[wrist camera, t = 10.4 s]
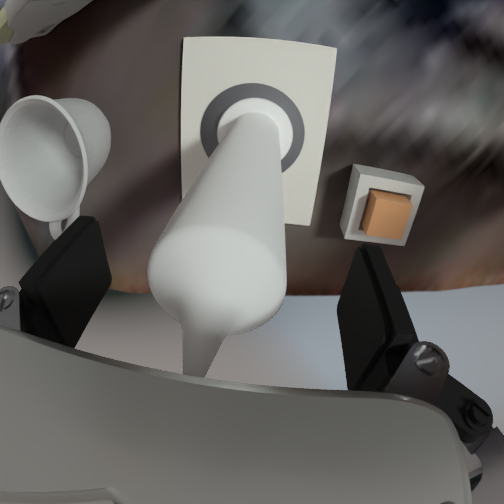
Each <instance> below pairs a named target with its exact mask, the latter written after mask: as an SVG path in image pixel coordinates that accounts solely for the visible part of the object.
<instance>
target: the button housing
mask: <svg viewBox="0 0 504 504" xmlns="http://www.w3.org/2000/svg"><path fill="white" fill-rule="evenodd" d="M424 187H425V186H424V185H422V184H421V183H420V182H419V181H418V180H417V179H416V178H415V177H414V176H412V175H408V174H403V173H399V172H394V171H389V170H384V169H379V168H374V167H369V166H363V165H357V164H353V167H352V172H351V177H350V181H349V186H348V190H347V195H346V199H345V203H344V208H343V212H342V216H341V220H340V224H339V225H340V227H341V230H342V233H343V236H344V239H350V240H358V241H366V242H375V243H383V244H391V245H399V246H405V243H406V241H407V238H408V235H409V232H410V230H411V227H412V224H413V221H414V218H415V215H416V212H417V209H418V206H419V203H420V200H421V197H422V194H423V191H424ZM371 190H375V191H381V192H386V193H392V194H397V195H402V196H406V197H407V198H408V199H409V201H410V202H411V203H412V204H413V206H412V210H411V213H410V216H409V219H408V222H407V224H406V227H405V230H404V233H403V236H402V238H401V240H399V239H392V238H384V237H376V236H368V235H366V234H365V232H364V229H363V227H362V221H363V218H364V214H365V210H366V207H367V203H368V199H369V195H370V191H371Z"/></svg>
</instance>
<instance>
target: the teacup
mask: <svg viewBox="0 0 504 504" xmlns="http://www.w3.org/2000/svg"><path fill="white" fill-rule="evenodd" d="M110 146H111V132H110V126H109V123H108V120H107V119H106V117H105V116H104V114H103V113H102V112H101V110H100V109H99V108H98V107H97V106H95V105H94V104H93V103H91V102H89V101H87V100H83V99H78V98H65V99H56V100H52V99H50V98H48V97H45V96H39V95H34V96H28V97H24V98H22V99H20V100H18V101H17V102H15V103H14V104H13V105H12V106H11V107H10V108H9V109H8V111H7V112H6V113H5V115H4V117H3V119H2V121H1V123H0V179H1V182H2V184H3V186H4V188H5V190H6V192H7V194H8V195H9V197H10V198H11V200H12V201H13V202H14V203H15V204H16V206H17V207H18V208H19V209H21V210H22V211H23V212H24V213H26V214H27V215H29V216H30V217H32V218H35V219H37V220H40V221H44V222H49V230H50V234H51V236H52V238H53V239H54V240H56V239H57V238H58V237H59V236H60V235H61V234H62V233H63V232H64V231H65V230H66V229H67V228H68V227H69V226H70V225H71V224H72V223H73V222H74V221H75V220H76V219H77V218H78V217H79V215H80V203H81V201H82V199H83V197H84V193H85V190H86V187H87V186H88V185H89V183H90V182H91V181H92V180H93V179H94V178H95V177H96V175H97V174H98V173H99V171H100V170H101V169H102V167H103V165H104V164H105V162H106V160H107V157H108V155H109V151H110ZM66 218H68V219H67V223H66V226H65V228H64V230H63V231H62V228H61V222H62V220H64V219H66Z"/></svg>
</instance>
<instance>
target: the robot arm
mask: <svg viewBox="0 0 504 504" xmlns="http://www.w3.org/2000/svg"><path fill="white" fill-rule="evenodd" d="M111 281H112V277H111V273H110V269H109V265H108V261H107V257H106V253H105V249H104V245H103V240H102V236H101V231H100V226H99V223H98V221H96V220H95V218H94V217H91V216H79V217H78V218H77V219H76V220H75V221H74V222H73V223H72V224H71V225H70V226H69V227H68V228H67V229H66V230H65V231H64V232H63V233H62V234H61V235H60V236H59V237H58V238H57V239H56V240H55V241H54V242H53V243H52V244H51V245H50V246H49V248H48V249H47V250H46V251H45V252H44V253H43V254H42V255H41V256H40V258H39V259H38V260H37V261H36V262H35V263H34V264H33V266H32V267H31V268H30V269H29V270H28V271H27V273H26V274H25V275H24V276H23V277H22V279H21V280H20V281H19V284H20V286H21V288H22V289H21V291H20V292H19V291H18V289H17V288H15V287H13V286H7V287H3V288H1V289H0V504H504V435H503V434H502V432H501V431H500V430H499V428H498V427H495V428H493V427H492V423H493V415H492V412H491V409H490V407H489V405H488V404H487V403H486V402H485V401H484V400H483V399H481V398H480V397H479V396H477V395H476V394H474V393H473V392H472V391H471V390H469V389H468V388H467V387H465V386H464V385H463V384H461V383H460V382H459V381H457V380H456V379H454V378H453V377H452V376H450V375H449V374H448V373H449V368H450V365H449V360H448V357H447V355H446V354H445V352H444V351H443V350H442V349H441V348H440V347H439V346H437V345H435V344H433V343H431V342H427V341H422V342H419V340H418V338H417V334H416V332H415V329H414V326H413V323H412V321H411V318H410V315H409V312H408V310H407V307H406V305H405V302H404V299H403V297H402V294H401V292H400V289H399V287H398V286H397V285H396V283H395V281H394V279H393V276H392V274H391V271H390V269H389V267H388V264H387V262H386V260H385V257H384V255H383V253H382V251H381V248H380V247H379V246H376V245H368V244H363V245H362V246H361V248H359V247H358V248H357V249H356V251H355V254H354V257H353V260H352V264H351V267H350V270H349V273H348V276H347V279H346V282H345V285H344V288H343V290H342V293H341V296H340V299H339V302H338V305H337V316H338V323H339V329H340V335H341V342H342V349H343V357H344V364H345V372H346V379H347V388H348V390H321V389H304V388H288V387H276V386H265V385H254V384H245V383H237V382H229V381H222V380H214V379H208V378H202V377H195V376H189V375H184V374H178V373H172V372H167V371H162V370H157V369H152V368H148V367H143V366H138V365H134V364H130V363H126V362H122V361H117V360H114V359H110V358H106V357H102V356H98V355H95V354H91V353H88V352H84V351H80V350H77V349H74V348H75V346H76V344H77V342H78V341H79V339H80V337H81V335H82V333H83V331H84V330H85V328H86V326H87V324H88V322H89V321H90V319H91V317H92V315H93V313H94V312H95V310H96V308H97V307H98V305H99V303H100V301H101V300H102V298H103V296H104V295H105V293H106V291H107V290H108V288H109V287H110V285H111Z"/></svg>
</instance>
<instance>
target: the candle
mask: <svg viewBox="0 0 504 504" xmlns="http://www.w3.org/2000/svg"><path fill="white" fill-rule="evenodd" d="M217 138H218V143H219V144H218V146H217V147H216V149H215V150H214V152H213V153H212V155H211V156H210V158H209V159H208V161H207V162H206V164H205V165H204V167H203V168H202V170H201V171H200V173H199V174H198V176H197V177H196V179H195V180H194V182H193V183H192V185H191V187H190V188H189V190H188V191H187V193H186V194H185V196H184V198H183V199H182V201H181V202H180V204H179V206H178V207H177V209H176V211H175V212H174V214H173V216H172V217H171V219H170V221H169V222H168V224H167V226H166V227H165V229H164V231H163V232H162V234H161V236H160V237H159V239H158V241H157V243H156V244H155V246H154V248H153V250H152V252H151V254H150V257H149V261H148V267H147V278H148V283H149V286H150V289H151V291H152V294H153V296H154V298H155V299H156V301H157V302H158V304H159V305H160V306H161V308H162V309H164V311H165V312H166V313H167V314H169V315H170V316H171V317H172V318H174V319H175V320H177V321H178V322H180V323H181V326H182V329H183V374H184V375H189V376H195V377H202V378H204V377H205V375H206V373H207V371H208V369H209V367H210V365H211V363H212V361H213V359H214V357H215V355H216V353H217V351H218V349H219V347H220V345H221V343H222V341H223V339H224V338H225V337H226V336H227V335H232V334H239V333H245V332H248V331H251V330H253V329H256V328H258V327H260V326H262V325H263V324H264V323H266V322H267V321H269V320H270V319H271V318H272V317H273V316H274V315H275V314H276V313H277V311H278V310H279V309H280V307H281V305H282V303H283V300H284V297H285V294H286V287H287V277H286V249H285V226H284V205H283V187H282V170H281V160H282V159H283V158H284V157H285V155H286V154H287V153H288V151H289V149H290V147H291V144H292V140H293V129H292V125H291V122H290V119H289V117H288V116H287V114H286V113H285V111H284V110H283V109H282V108H281V107H279V106H278V105H277V104H275V103H274V102H271V101H269V100H266V99H262V98H247V99H243V100H240V101H238V102H236V103H234V104H233V105H231V106H230V107H229V108H228V109H227V110H226V111H225V112H224V114H223V115H222V117H221V119H220V121H219V124H218V129H217Z"/></svg>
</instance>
